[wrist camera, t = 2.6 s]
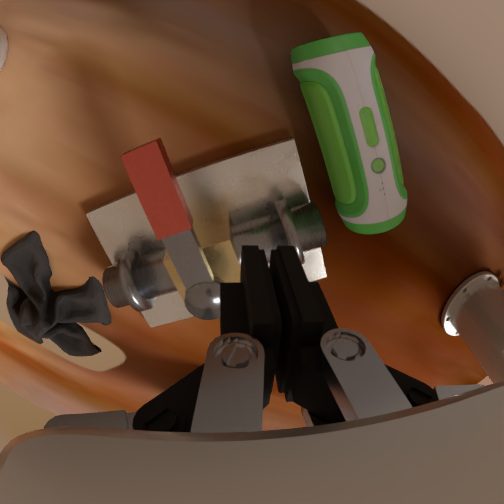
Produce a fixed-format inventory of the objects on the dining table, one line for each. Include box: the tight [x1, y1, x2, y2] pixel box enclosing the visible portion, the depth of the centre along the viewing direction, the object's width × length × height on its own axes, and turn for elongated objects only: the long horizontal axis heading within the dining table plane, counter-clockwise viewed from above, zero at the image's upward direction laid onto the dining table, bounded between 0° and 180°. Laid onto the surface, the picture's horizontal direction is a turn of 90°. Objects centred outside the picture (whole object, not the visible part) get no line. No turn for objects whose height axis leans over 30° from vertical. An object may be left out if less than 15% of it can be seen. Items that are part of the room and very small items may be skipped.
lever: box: [120, 138, 225, 320], centre depth 23 cm, size 14×4×3 cm, turn 17°
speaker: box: [291, 32, 407, 234], centre depth 26 cm, size 18×7×8 cm, turn 20°
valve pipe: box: [86, 137, 327, 327], centre depth 31 cm, size 23×16×7 cm
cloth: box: [1, 231, 111, 356], centre depth 34 cm, size 22×19×6 cm
